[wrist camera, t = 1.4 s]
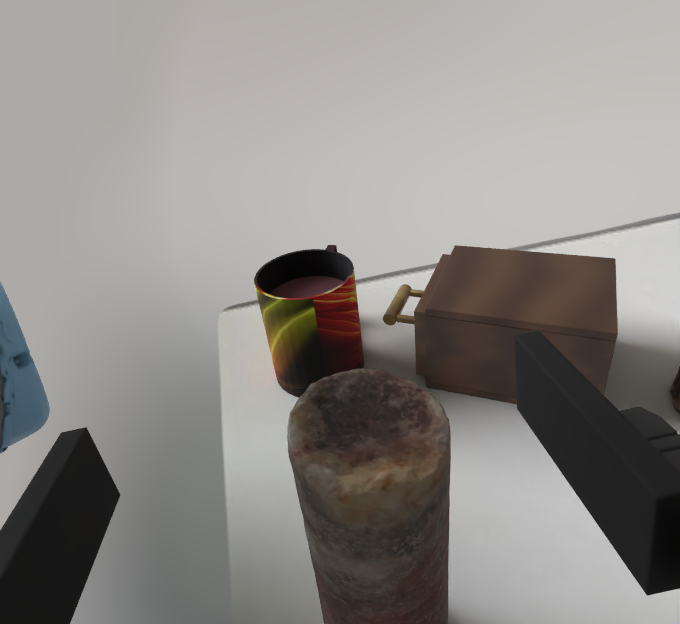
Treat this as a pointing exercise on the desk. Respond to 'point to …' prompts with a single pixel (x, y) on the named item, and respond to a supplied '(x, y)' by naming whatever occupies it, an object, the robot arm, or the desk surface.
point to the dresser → (517, 317)
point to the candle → (374, 497)
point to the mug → (310, 316)
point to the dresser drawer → (415, 313)
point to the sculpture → (676, 391)
